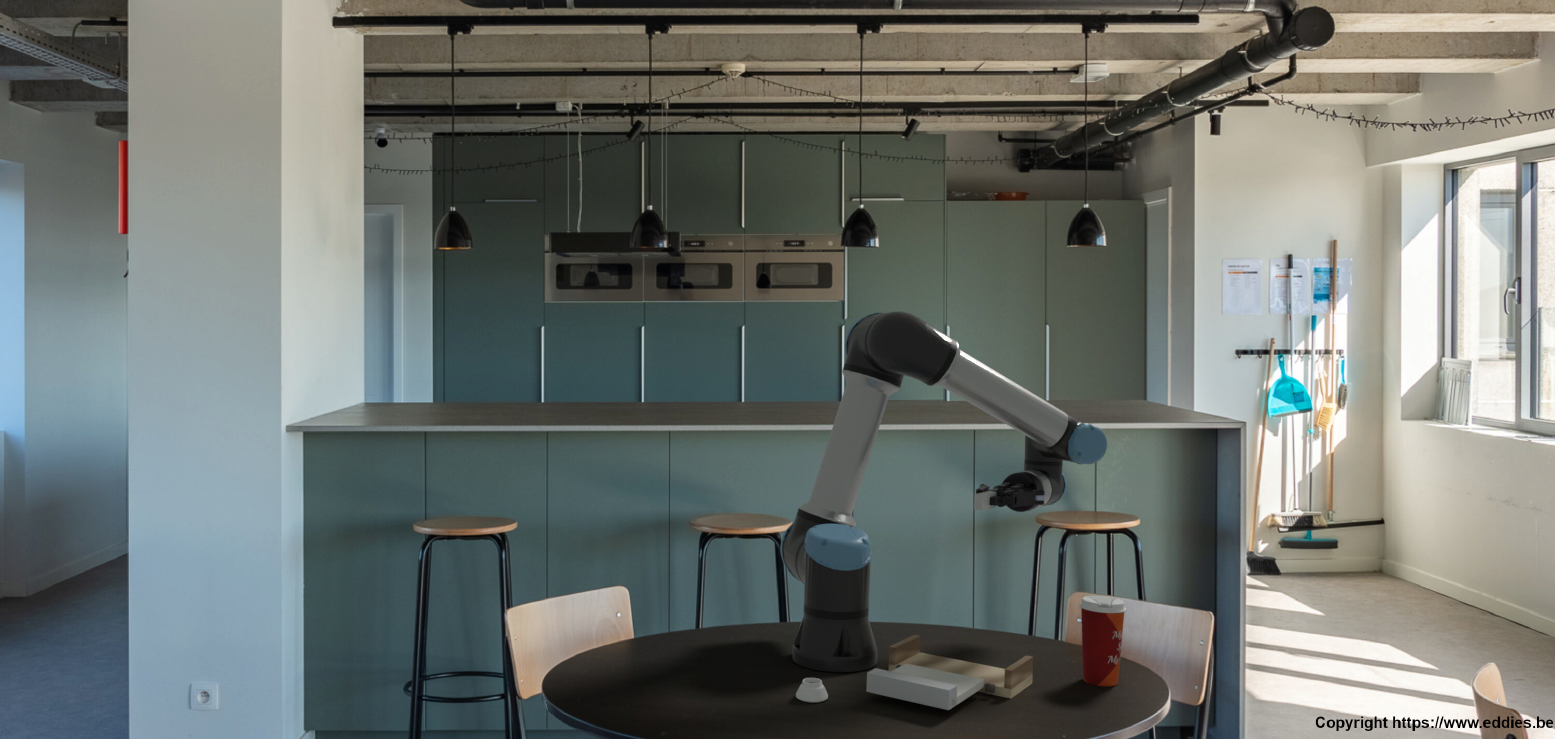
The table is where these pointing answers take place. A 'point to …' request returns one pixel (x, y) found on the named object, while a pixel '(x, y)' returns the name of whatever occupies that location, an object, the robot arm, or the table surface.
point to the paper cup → (1101, 639)
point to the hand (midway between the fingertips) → (978, 502)
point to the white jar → (812, 691)
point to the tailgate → (923, 685)
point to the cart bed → (966, 668)
